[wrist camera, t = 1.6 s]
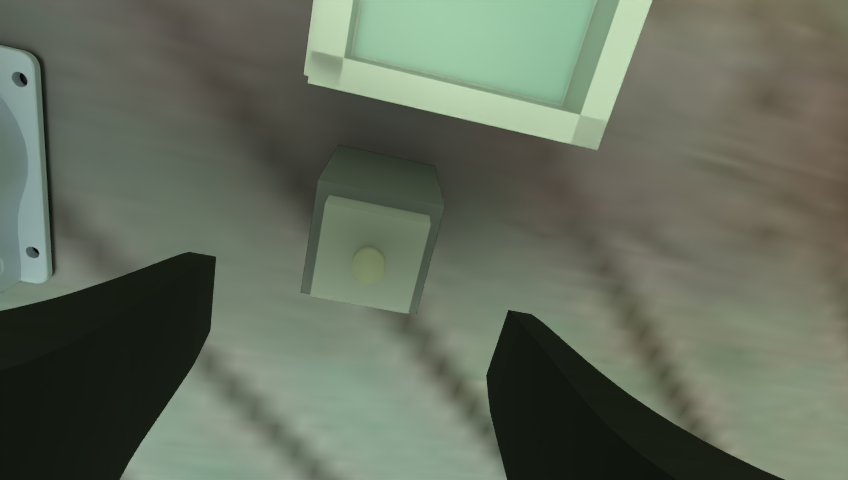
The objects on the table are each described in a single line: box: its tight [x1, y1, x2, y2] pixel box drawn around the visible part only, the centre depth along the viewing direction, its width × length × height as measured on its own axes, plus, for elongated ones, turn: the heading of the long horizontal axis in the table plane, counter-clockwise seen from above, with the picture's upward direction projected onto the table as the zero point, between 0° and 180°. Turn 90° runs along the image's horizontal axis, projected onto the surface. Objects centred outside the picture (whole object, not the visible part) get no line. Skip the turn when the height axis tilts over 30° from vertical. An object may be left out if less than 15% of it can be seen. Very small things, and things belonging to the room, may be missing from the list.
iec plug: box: [300, 145, 445, 314], centre depth 18 cm, size 4×4×7 cm
